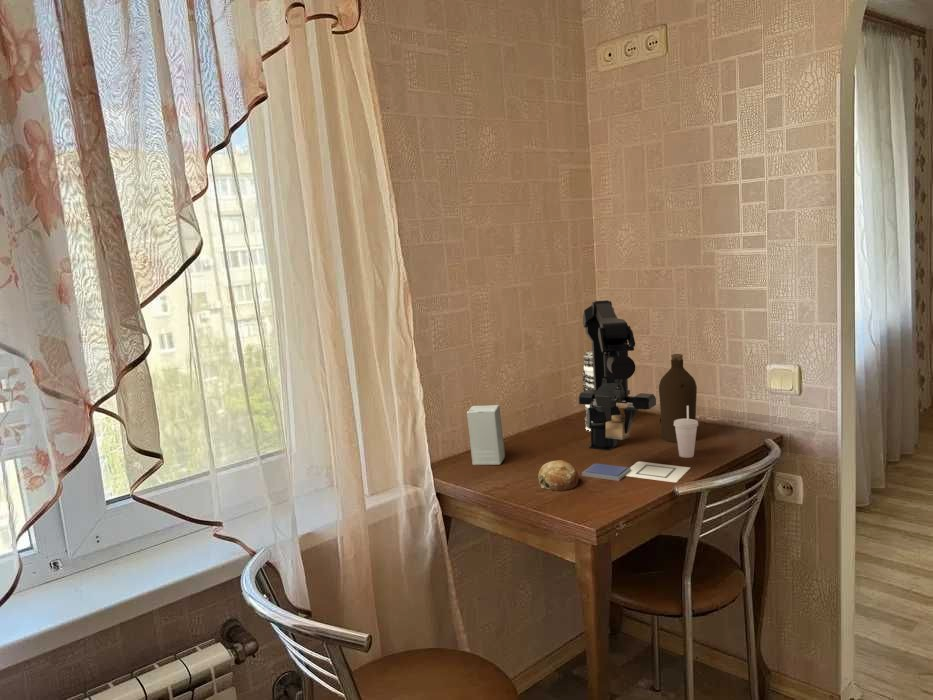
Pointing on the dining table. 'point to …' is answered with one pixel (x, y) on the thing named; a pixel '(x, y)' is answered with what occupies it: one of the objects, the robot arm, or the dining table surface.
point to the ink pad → (606, 471)
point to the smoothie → (686, 435)
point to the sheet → (657, 471)
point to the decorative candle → (588, 379)
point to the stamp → (616, 428)
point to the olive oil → (676, 397)
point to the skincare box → (486, 435)
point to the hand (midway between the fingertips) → (617, 432)
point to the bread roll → (558, 476)
